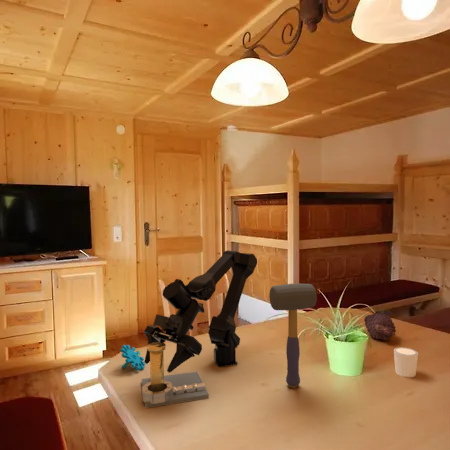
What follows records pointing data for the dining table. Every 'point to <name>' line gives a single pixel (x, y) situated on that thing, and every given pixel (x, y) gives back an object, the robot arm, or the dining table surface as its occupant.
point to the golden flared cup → (157, 365)
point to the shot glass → (405, 361)
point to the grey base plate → (179, 381)
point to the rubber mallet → (292, 320)
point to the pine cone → (380, 326)
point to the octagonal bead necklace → (168, 391)
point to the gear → (132, 357)
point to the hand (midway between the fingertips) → (156, 367)
